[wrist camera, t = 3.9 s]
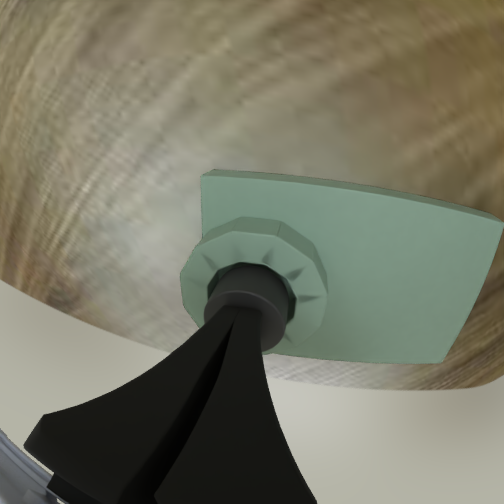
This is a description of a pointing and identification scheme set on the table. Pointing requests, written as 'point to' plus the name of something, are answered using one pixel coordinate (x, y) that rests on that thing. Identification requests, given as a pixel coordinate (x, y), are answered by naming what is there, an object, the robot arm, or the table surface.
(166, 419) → the robot arm
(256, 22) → the table surface
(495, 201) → the table surface
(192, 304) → the green knob panel
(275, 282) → the black knob
